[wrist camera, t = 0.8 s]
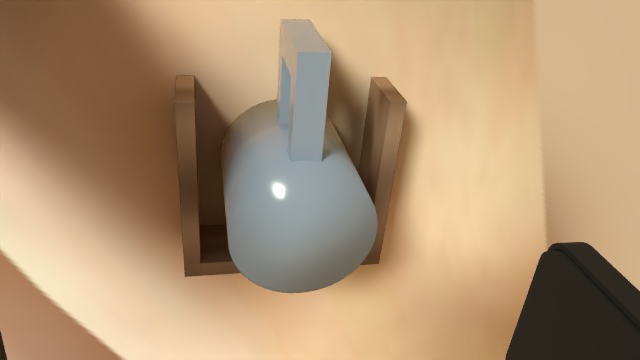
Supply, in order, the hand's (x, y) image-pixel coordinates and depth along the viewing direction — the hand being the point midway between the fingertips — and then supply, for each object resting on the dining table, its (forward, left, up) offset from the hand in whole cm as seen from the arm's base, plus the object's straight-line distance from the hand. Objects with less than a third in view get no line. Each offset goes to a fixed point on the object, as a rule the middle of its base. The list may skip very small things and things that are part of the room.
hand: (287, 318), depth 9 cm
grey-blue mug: (+8, +4, -25) cm, 26 cm away
